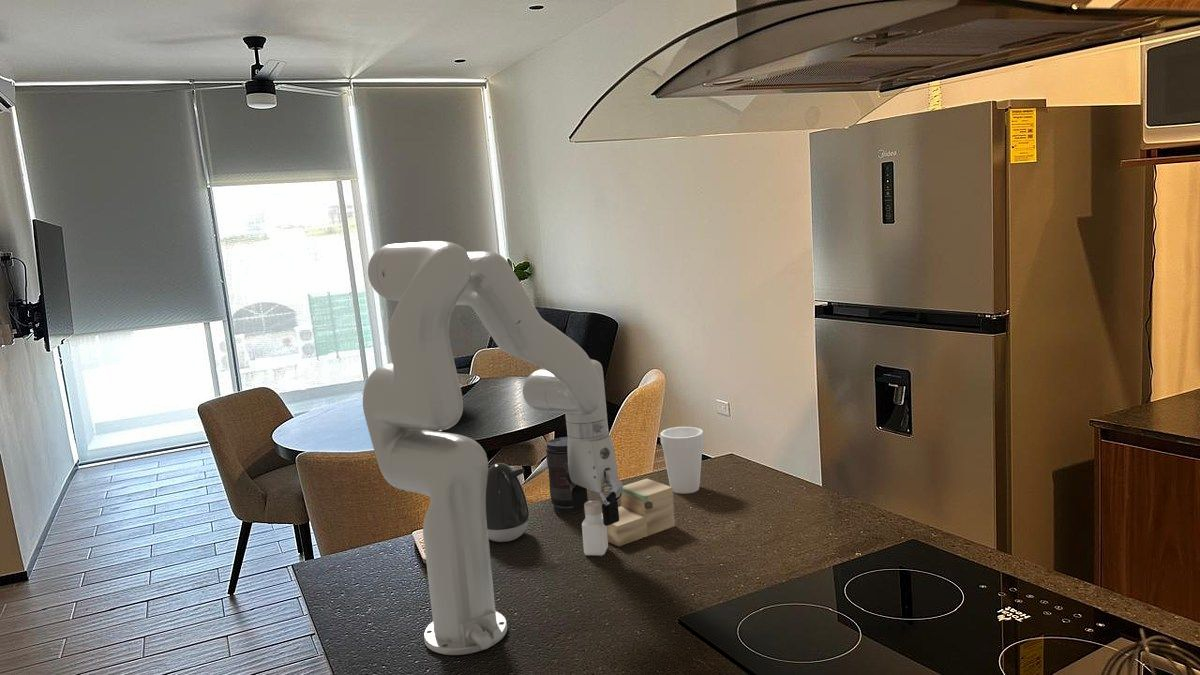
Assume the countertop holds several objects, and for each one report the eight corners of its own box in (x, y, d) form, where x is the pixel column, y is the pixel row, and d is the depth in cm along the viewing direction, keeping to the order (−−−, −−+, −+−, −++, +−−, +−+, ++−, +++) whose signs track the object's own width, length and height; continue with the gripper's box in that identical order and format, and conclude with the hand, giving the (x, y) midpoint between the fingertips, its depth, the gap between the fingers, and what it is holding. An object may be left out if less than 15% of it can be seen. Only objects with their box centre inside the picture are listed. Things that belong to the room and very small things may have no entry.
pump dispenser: (519, 549, 159) (512, 472, 157) (470, 545, 163) (463, 470, 160) (540, 528, 169) (533, 456, 167) (493, 526, 172) (486, 455, 170)
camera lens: (595, 504, 181) (590, 437, 178) (574, 517, 174) (569, 447, 172) (565, 499, 185) (559, 434, 183) (543, 512, 178) (537, 444, 176)
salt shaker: (588, 547, 158) (584, 499, 156) (608, 547, 157) (605, 499, 155) (583, 556, 154) (579, 507, 152) (604, 556, 153) (600, 507, 152)
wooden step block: (678, 527, 164) (675, 488, 163) (621, 548, 156) (619, 507, 155) (649, 515, 172) (646, 478, 170) (593, 534, 164) (590, 495, 162)
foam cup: (661, 496, 183) (658, 438, 181) (665, 482, 192) (662, 427, 190) (705, 495, 181) (702, 437, 179) (707, 481, 190) (704, 426, 188)
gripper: (632, 431, 147) (640, 522, 150) (577, 415, 161) (585, 499, 164) (598, 441, 143) (607, 535, 146) (544, 424, 157) (553, 510, 160)
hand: (595, 516), depth 155 cm, fingers open, 9 cm apart
